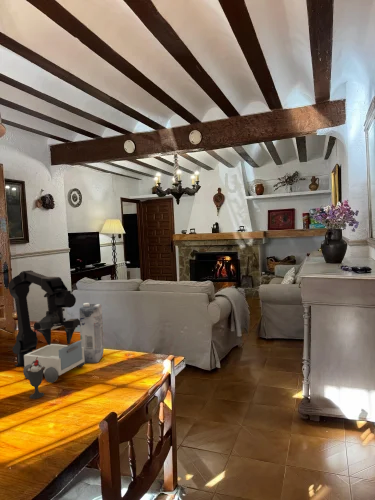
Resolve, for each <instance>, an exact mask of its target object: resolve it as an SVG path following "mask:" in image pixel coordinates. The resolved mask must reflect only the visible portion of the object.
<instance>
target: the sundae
mask: <svg viewBox="0 0 375 500" xmlns="http://www.w3.org/2000/svg"><path fill="white" fill-rule="evenodd" d="M37 358H38V357H37ZM44 369H45V367H44V366H43V365H41V363H40V362H39V361H38V360H37V359H36V360H35V361H33V363H32V364H31V366H30V367H29V368H27V369H26V372H27V373H28V375H29V379H28V380H29V383H30V385H31V387H33V388H34V393H32V394H30V395H29V399H32V400H36V399H40V398H42V397H43V396H45V393H44V392H40V390H39V386H41V384H42V383H43V378H44V377H43V376H44V373H43V370H44Z"/></svg>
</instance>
